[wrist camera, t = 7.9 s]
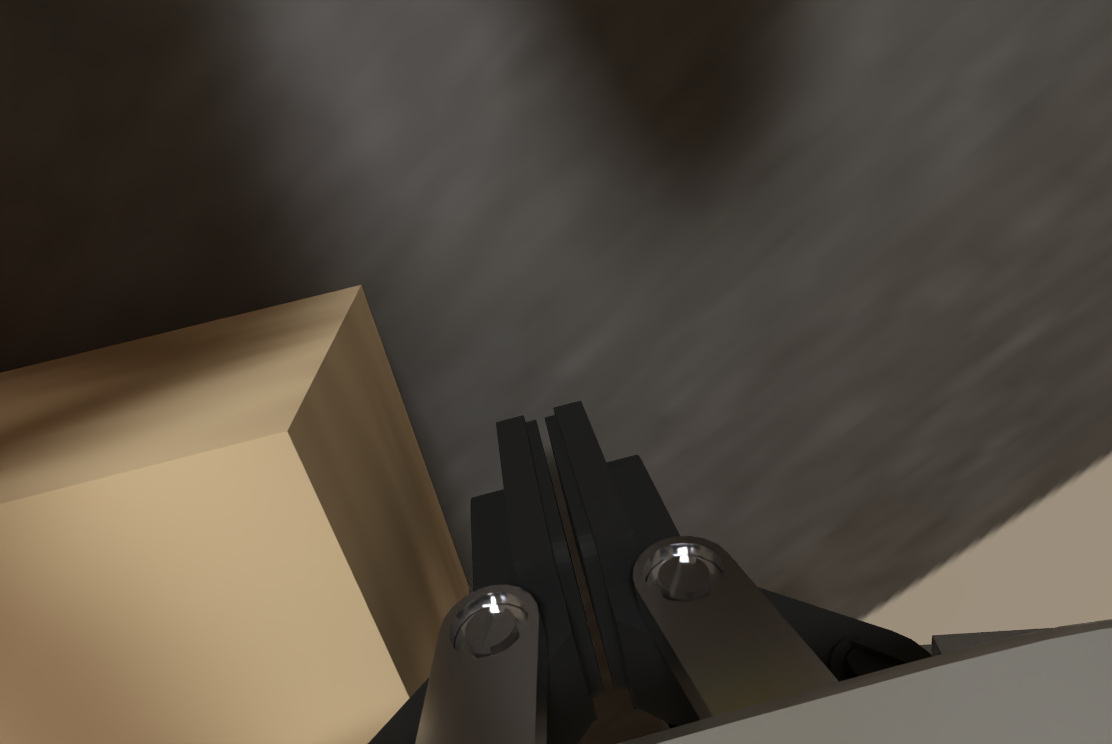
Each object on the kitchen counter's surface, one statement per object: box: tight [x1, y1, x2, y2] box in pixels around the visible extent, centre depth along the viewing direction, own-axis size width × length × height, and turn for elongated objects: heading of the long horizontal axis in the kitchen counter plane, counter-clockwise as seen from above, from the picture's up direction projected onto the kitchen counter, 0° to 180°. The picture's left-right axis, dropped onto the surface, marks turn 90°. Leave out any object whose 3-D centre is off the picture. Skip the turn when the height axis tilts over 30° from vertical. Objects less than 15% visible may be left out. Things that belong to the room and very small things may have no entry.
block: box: [0, 285, 469, 744], centre depth 11 cm, size 8×8×6 cm
